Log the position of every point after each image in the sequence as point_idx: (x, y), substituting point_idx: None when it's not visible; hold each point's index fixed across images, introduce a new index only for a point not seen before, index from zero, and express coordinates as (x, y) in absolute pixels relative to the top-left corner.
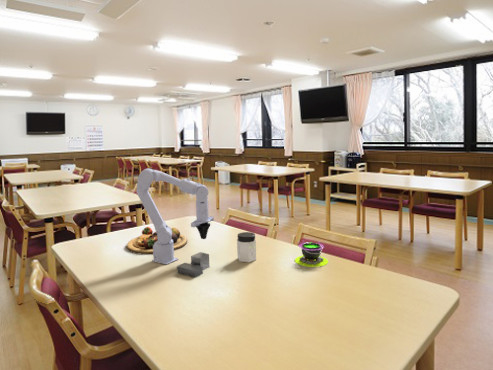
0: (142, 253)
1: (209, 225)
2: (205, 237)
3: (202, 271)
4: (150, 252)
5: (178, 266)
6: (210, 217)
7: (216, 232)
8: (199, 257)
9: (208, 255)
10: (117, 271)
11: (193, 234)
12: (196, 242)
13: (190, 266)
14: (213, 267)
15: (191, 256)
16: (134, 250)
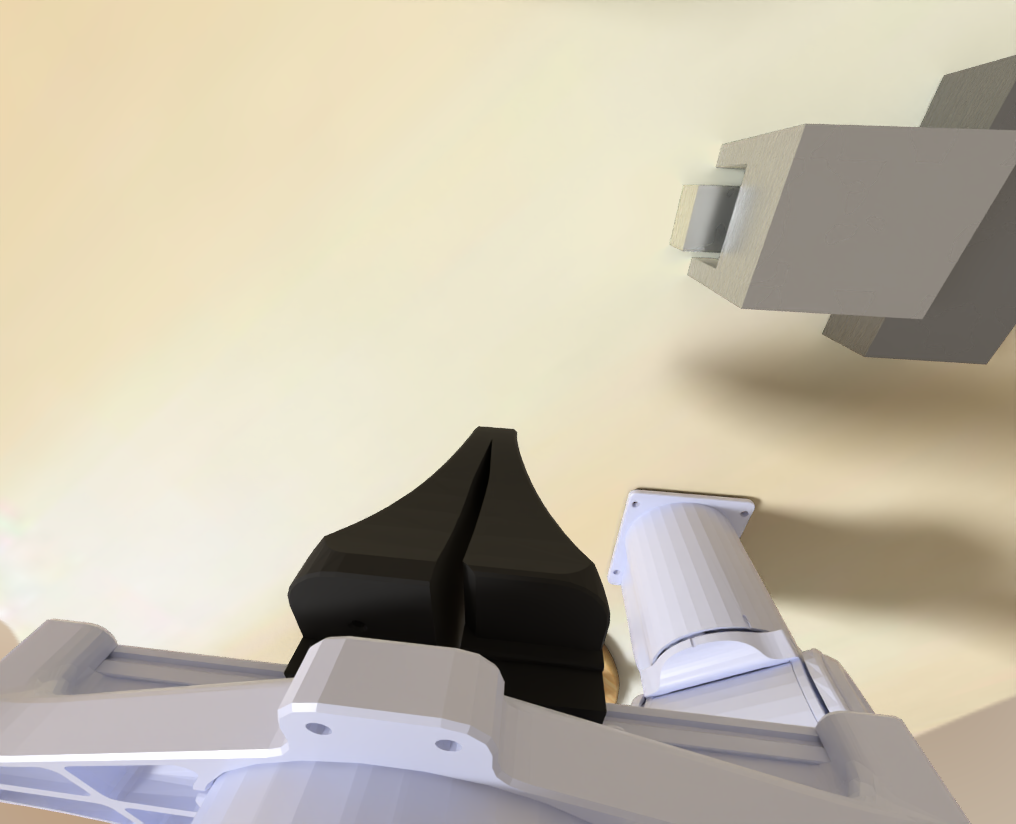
0: (615, 665)
1: (359, 542)
2: (492, 434)
3: (974, 69)
4: (602, 648)
5: (994, 346)
6: (46, 779)
7: (89, 550)
8: (997, 163)
9: (809, 126)
10: (898, 637)
11: (228, 622)
12: (307, 554)
13: (1004, 225)
14: (725, 85)
15: (926, 308)
16: (615, 703)
